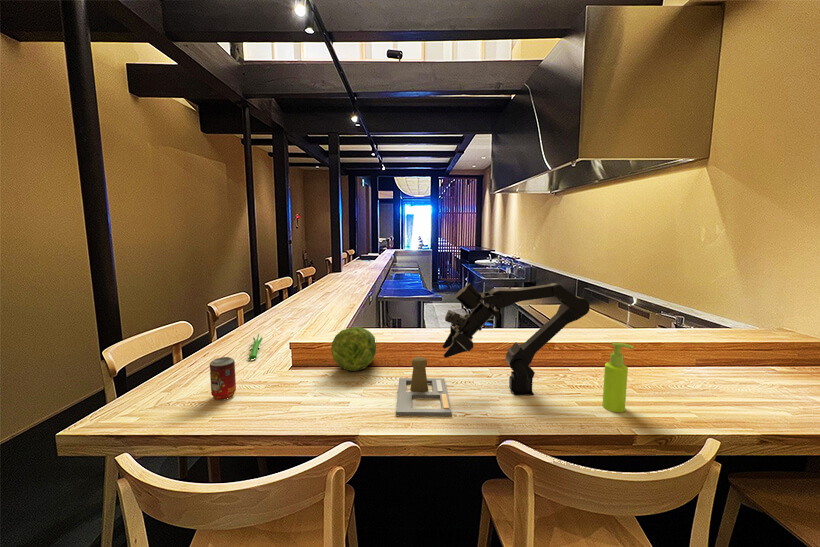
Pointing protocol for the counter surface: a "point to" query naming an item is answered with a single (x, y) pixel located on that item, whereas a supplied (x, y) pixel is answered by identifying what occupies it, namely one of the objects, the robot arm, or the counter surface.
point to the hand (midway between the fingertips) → (443, 352)
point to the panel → (406, 397)
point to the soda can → (222, 378)
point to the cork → (419, 375)
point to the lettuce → (353, 348)
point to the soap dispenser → (615, 380)
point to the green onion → (255, 348)
